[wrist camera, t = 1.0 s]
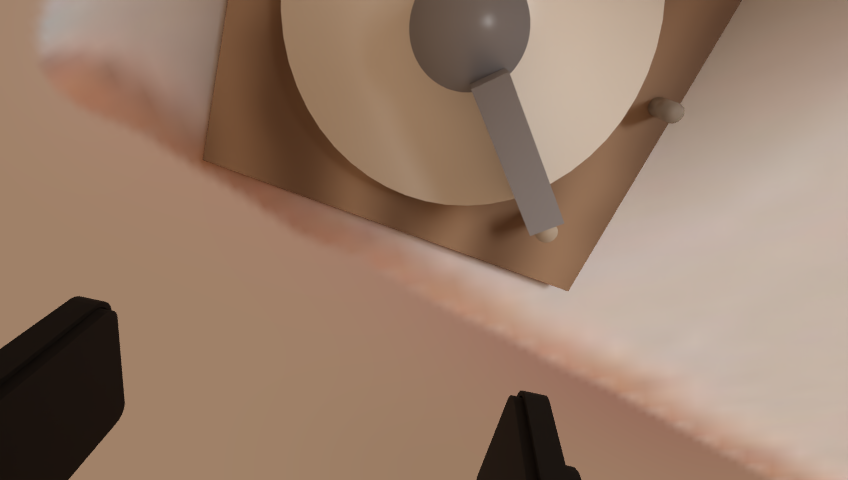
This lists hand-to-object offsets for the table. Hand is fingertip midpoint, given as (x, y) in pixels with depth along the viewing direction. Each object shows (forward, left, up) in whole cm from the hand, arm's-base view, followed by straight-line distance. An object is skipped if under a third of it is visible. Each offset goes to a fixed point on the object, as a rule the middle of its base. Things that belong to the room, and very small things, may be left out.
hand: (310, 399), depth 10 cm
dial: (-1, -8, -18) cm, 20 cm away
